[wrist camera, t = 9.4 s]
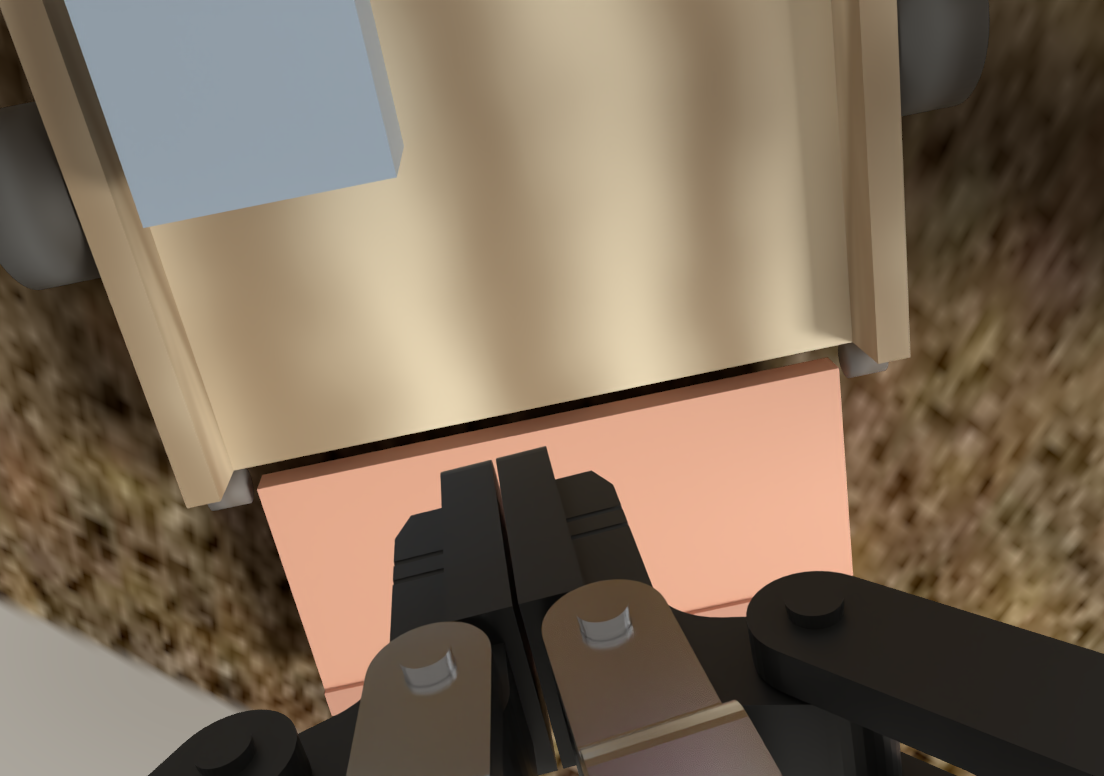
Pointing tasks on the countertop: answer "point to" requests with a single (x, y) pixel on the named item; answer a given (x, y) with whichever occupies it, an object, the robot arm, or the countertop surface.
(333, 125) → the blue gray block
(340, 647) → the pink rectangular board
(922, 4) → the flatbed
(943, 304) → the countertop surface
